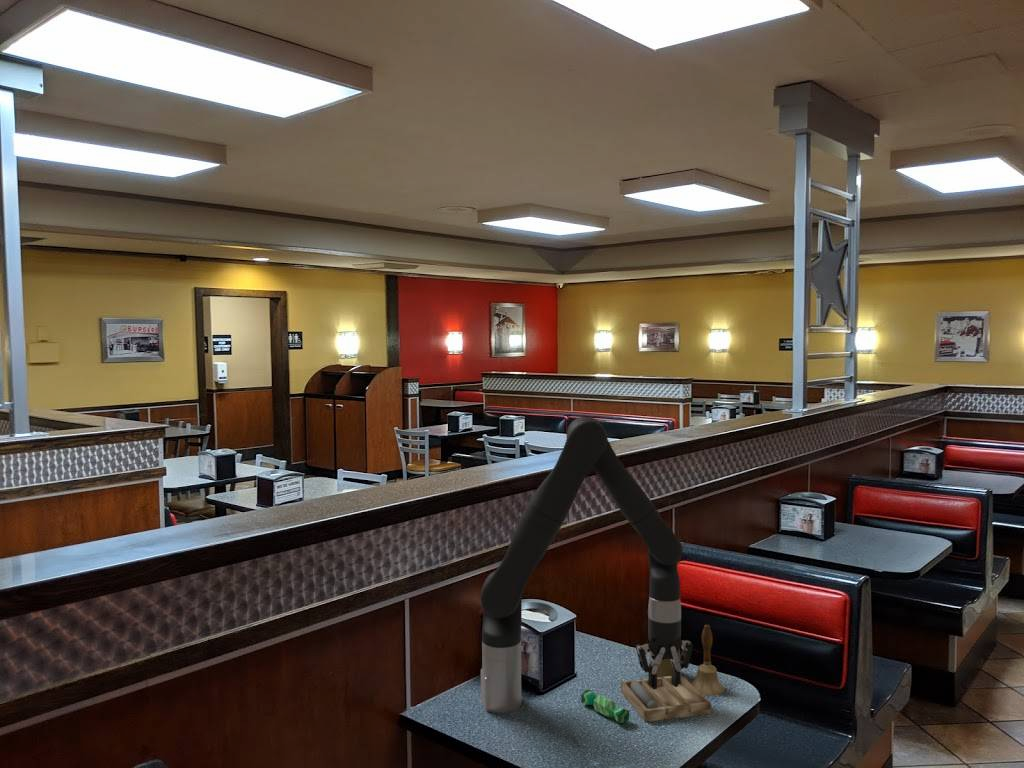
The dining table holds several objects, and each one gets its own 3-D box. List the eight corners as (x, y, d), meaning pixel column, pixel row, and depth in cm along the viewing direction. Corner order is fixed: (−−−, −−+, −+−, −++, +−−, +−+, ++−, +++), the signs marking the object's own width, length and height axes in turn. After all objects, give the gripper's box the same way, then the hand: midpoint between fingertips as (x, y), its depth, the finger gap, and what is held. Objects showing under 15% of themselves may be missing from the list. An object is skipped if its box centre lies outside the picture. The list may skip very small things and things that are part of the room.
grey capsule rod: (649, 714, 168) (649, 703, 168) (628, 689, 180) (628, 679, 180) (659, 712, 169) (659, 702, 168) (638, 688, 181) (638, 678, 181)
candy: (629, 723, 167) (629, 705, 167) (618, 728, 165) (618, 709, 164) (591, 702, 176) (591, 686, 176) (581, 707, 174) (581, 690, 174)
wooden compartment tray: (644, 721, 166) (644, 711, 166) (620, 691, 181) (620, 681, 181) (710, 713, 170) (710, 703, 170) (681, 684, 185) (681, 674, 184)
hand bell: (725, 698, 177) (726, 632, 176) (690, 695, 179) (690, 630, 178) (723, 683, 185) (723, 620, 185) (689, 680, 187) (689, 617, 186)
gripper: (642, 624, 169) (641, 697, 170) (700, 618, 172) (699, 690, 173) (629, 612, 177) (629, 682, 177) (685, 607, 180) (685, 676, 181)
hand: (664, 686), depth 175 cm, fingers open, 4 cm apart
